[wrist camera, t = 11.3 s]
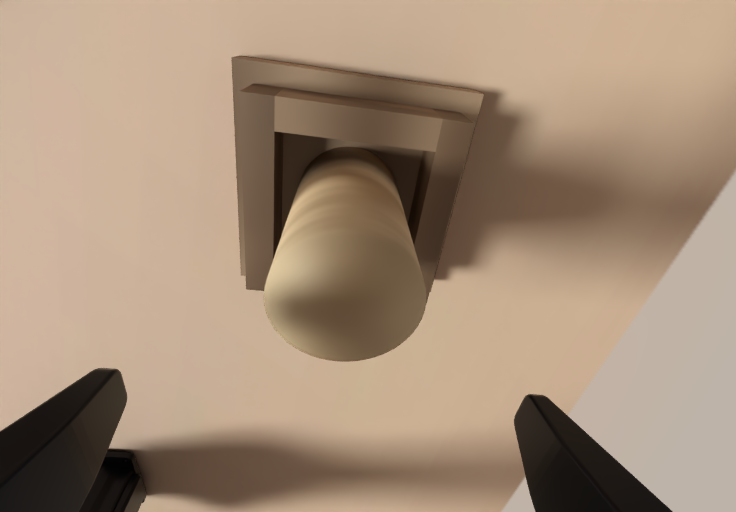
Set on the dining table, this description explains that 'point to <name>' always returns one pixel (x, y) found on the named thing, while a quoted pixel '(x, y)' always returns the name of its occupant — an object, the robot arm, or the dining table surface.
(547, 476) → the robot arm
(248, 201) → the walnut socket holder
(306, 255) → the wooden dowel
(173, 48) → the dining table surface
